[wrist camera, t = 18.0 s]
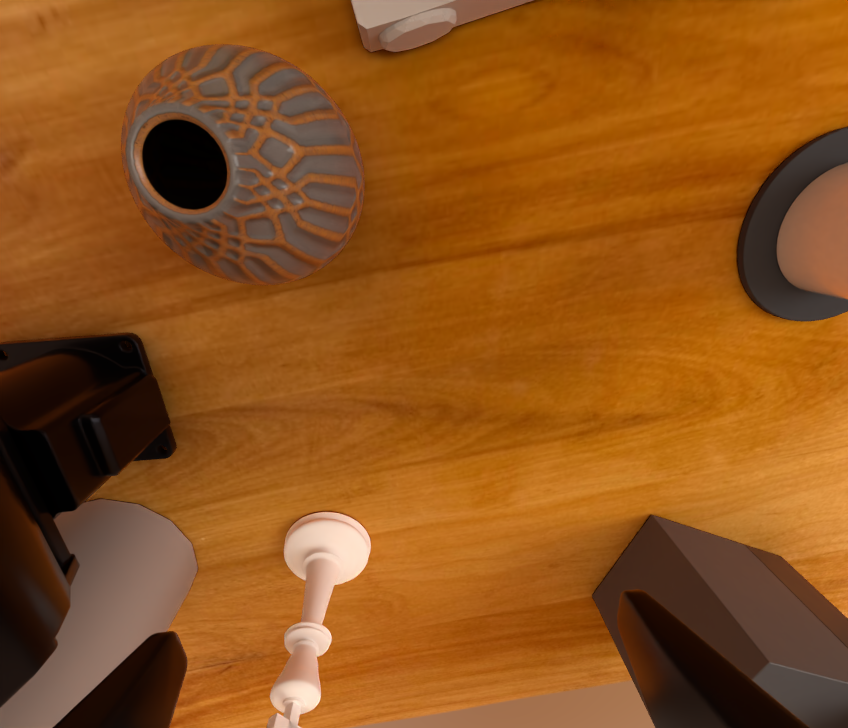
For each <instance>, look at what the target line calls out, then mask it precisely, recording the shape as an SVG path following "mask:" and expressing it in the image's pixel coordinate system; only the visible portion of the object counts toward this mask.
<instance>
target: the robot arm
mask: <svg viewBox="0 0 848 728" xmlns="http://www.w3.org/2000/svg"><path fill="white" fill-rule="evenodd" d="M125 341H128V342H129V343H130V344H131V345H132V348H129V347H128V346H127V345H126V343H125ZM3 351H4V352H6V354H7V355H8V357H7V356H6V355H5V354H4V352H3ZM162 446H164V447H166V448H167V450H165V449H163V448H162ZM176 448H177V447H176V442H175V439H174V436H173V433H172V430H171V427H170V420H169V417H168V414H167V411H166V408H165V404H164V401H163V398H162V395H161V392H160V389H159V386H158V383H157V380H156V378H155V377H154V376H153V373H152V370H151V367H150V364H149V361H148V358H147V355H146V352H145V349H144V346H143V343H142V341H141V339H140V338H139V337H138V336H137V335H135V334H133V333H118V334H104V335H91V336H78V337H65V338H52V339H38V340H25V341H12V342H3V343H0V708H1V707H2V706H3V705H4V704H5V703H6V702H7V701H8V700H9V699H11V698H12V697H13V696H14V695H15V694H16V693H17V692H18V691H19V690H20V689H21V688H22V687H23V686H24V685H25V684H26V683H27V682H28V681H29V680H31V679H32V678H33V677H34V676H35V674H36V673H37V672H38V671H39V670H40V668H41V667H42V666H43V665H44V663H45V662H46V661H47V660H48V659H49V657H50V656H51V655H52V654H53V652H54V651H55V650H56V648H57V646H58V641H57V639H56V635H57V634H58V632H59V630H60V628H61V626H62V624H63V622H64V620H65V617H66V615H67V613H68V611H69V609H70V607H71V588H70V587H71V585H72V582H73V580H74V578H75V576H76V573H77V571H78V569H79V567H80V564H79V562H78V560H77V558H76V556H75V555H74V554H70V552H69V550H68V548H67V546H66V544H65V542H64V540H63V538H62V536H61V534H60V532H59V530H58V528H57V526H56V524H55V522H54V519H56V518H57V517H58V516H59V515H60V514H61V513H62V512H70V511H74V510H76V509H77V508H78V507H79V506H81V505H82V504H83V503H84V502H85V501H86V500H87V499H88V498H89V497H90V496H91V495H92V494H93V493H94V492H95V491H96V490H98V489H99V488H100V487H101V486H102V485H103V484H104V483H105V482H106V481H107V480H108V479H109V478H110V477H111V476H116V475H118V474H119V473H120V472H121V471H122V470H123V469H124V468H126V467H127V466H128V465H129V464H130V463H131V462H132V461H140V460H152V459H164V458H168V457H170V456H171V455H172V454H173V453H174V452H175V451H176ZM617 624H618V629H619V632H620V635H621V638H622V640H623V643H624V646H625V649H626V651H627V654H628V657H629V659H630V662H631V665H632V668H633V670H634V673H635V676H636V678H637V681H638V684H639V687H640V689H641V692H642V695H643V697H644V700H645V703H646V706H647V708H648V711H649V713H650V716H651V718H652V721H653V723H654V725H655V727H656V728H810V727H808V726H807V725H806V724H805V723H803V722H802V721H801V720H800V719H799V718H797V717H796V716H795V715H794V714H793V713H791V712H790V711H789V710H788V709H787V708H785V707H784V706H783V705H782V704H781V703H779V702H778V701H777V700H776V699H775V698H773V697H772V696H771V695H770V694H769V693H767V692H766V691H765V690H764V689H762V688H761V687H760V686H759V685H758V684H756V683H755V682H754V681H753V680H752V679H750V678H749V677H748V676H747V675H746V674H744V673H743V672H742V671H741V670H740V669H738V668H737V667H736V666H735V665H734V664H732V663H731V662H730V661H729V660H727V659H726V658H725V657H724V656H723V655H721V654H720V653H719V652H718V651H717V650H715V649H714V648H713V647H712V646H711V645H709V644H708V643H707V642H706V641H705V640H703V639H702V638H701V637H700V636H699V635H697V634H696V633H695V632H694V631H693V630H691V629H690V628H689V627H688V626H686V625H685V624H684V623H683V622H682V621H680V620H679V619H678V618H677V617H676V616H674V615H673V614H672V613H671V612H670V611H668V610H667V609H666V608H665V607H664V606H662V605H661V604H660V603H659V602H658V601H656V600H655V599H654V598H653V597H651V596H650V595H649V594H648V593H647V592H645V591H643V590H640V589H636V590H625V591H623V592H622V593H621V595H620V601H619V608H618V615H617ZM186 669H187V657H186V654H185V652H184V649H183V647H182V644H181V642H180V639H179V637H178V635H177V633H175V632H174V631H169V632H158V633H154V634H152V635H151V636H149V637H148V638H147V639H146V640H145V641H144V642H143V643H142V644H140V645H139V646H138V647H137V648H136V649H135V650H134V651H133V652H132V653H131V654H130V655H129V656H128V657H127V658H126V659H125V660H124V661H122V662H121V663H120V664H119V665H118V666H117V667H116V668H115V669H114V670H113V671H112V672H111V673H110V674H109V675H108V676H107V677H106V678H104V679H103V680H102V681H101V682H100V683H99V684H98V685H97V686H96V687H95V688H94V689H93V690H92V691H91V692H90V693H89V694H88V695H86V696H85V697H84V698H83V699H82V700H81V701H80V702H79V703H78V704H77V705H76V706H75V707H74V708H73V709H72V710H71V711H70V712H69V713H67V714H66V715H65V716H64V717H63V718H62V719H61V720H60V721H59V722H58V723H57V724H56V725H55V726H54V727H53V728H169V727H170V723H171V720H172V717H173V713H174V710H175V707H176V703H177V700H178V697H179V693H180V690H181V687H182V683H183V680H184V677H185V673H186Z"/></svg>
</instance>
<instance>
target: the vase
mask: <svg viewBox="0 0 848 728" xmlns="http://www.w3.org/2000/svg"><path fill="white" fill-rule="evenodd" d="M121 152H122V162H123V167H124V172H125V176H126V180H127V183H128V186H129V189H130V191H131V194H132V196H133V198H134V201H135V203H136V205H137V207H138V208H139V210H140V212H141V214H142V215H143V217H144V218H145V220H146V221H147V223H148V224H149V225H150V227H151V228H152V229H153V231H154V232H155V233H156V234H157V235H158V236H159V238H160V239H161V240H162V241H163V242H164V243H165V244H166V245H168V246H169V247H170V248H171V249H172V250H173V251H174V252H176V253H177V254H178V255H180V256H181V257H182V258H184V259H185V260H187V261H188V262H189V263H191V264H193V265H195V266H196V267H198V268H200V269H202V270H204V271H206V272H208V273H210V274H213V275H215V276H218V277H221V278H224V279H227V280H231V281H235V282H239V283H246V284H254V285H275V284H283V283H288V282H292V281H296V280H299V279H302V278H304V277H307V276H309V275H311V274H313V273H314V272H316V271H318V270H320V269H321V268H323V267H324V266H325V265H327V264H328V263H329V262H330V261H332V260H333V259H334V258H335V257H336V256H337V255H338V254H339V253H340V251H341V250H342V249H343V248H344V247H345V245H346V244H347V243H348V241H349V240H350V238H351V236H352V234H353V232H354V230H355V228H356V226H357V223H358V221H359V218H360V215H361V211H362V206H363V200H364V170H363V163H362V158H361V154H360V151H359V147H358V144H357V142H356V139H355V136H354V134H353V132H352V130H351V128H350V126H349V124H348V122H347V120H346V118H345V117H344V115H343V113H342V112H341V110H340V109H339V107H338V106H337V105H336V103H335V102H334V101H333V99H332V98H331V97H330V96H329V95H328V94H327V92H326V91H325V90H324V89H323V88H322V87H321V86H320V85H319V84H318V83H317V82H316V81H314V80H313V79H312V78H311V77H310V76H309V75H307V74H306V73H305V72H303V71H302V70H300V69H299V68H297V67H296V66H294V65H293V64H291V63H289V62H287V61H285V60H283V59H281V58H280V57H277V56H275V55H273V54H270V53H267V52H265V51H262V50H258V49H254V48H250V47H245V46H239V45H225V44H221V45H206V46H200V47H196V48H191V49H188V50H185V51H182V52H180V53H177V54H175V55H173V56H171V57H169V58H168V59H166V60H165V61H163V62H162V63H160V64H159V65H157V66H156V67H155V68H154V69H153V70H152V71H150V72H149V73H148V74H147V76H146V77H145V78H144V79H143V80H142V81H141V83H140V84H139V85H138V87H137V89H136V90H135V92H134V94H133V96H132V98H131V100H130V102H129V105H128V107H127V110H126V114H125V117H124V122H123V127H122V136H121Z"/></svg>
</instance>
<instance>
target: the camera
mask: <svg viewBox="0 0 848 728" xmlns="http://www.w3.org/2000/svg"><path fill="white" fill-rule="evenodd" d="M530 1H533V0H351V3H352V7H353V10H354V14H355V17H356V21H357V25H358V28H359V32H360V35H361V39H362V42H363V46H364V48H365V49H367V50H369V51H370V52H373V51H377V50H381V49H385V50H388V51H392V52H398V51H403V50H409V49H413V48H416V47H419V46H422V45H424V44H427V43H430V42H432V41H434V40H436V39H438V38H440V37H441V36H443V35H445V34H447V33H448V32H450V30H451V29H452V28H453V27H455V26H458V25H461V24H464V23H467V22H470V21H473V20H476V19H479V18H482V17H485V16H488V15H491V14H494V13H497V12H500V11H503V10H506V9H509V8H512V7H515V6H518V5H521V4H524V3H527V2H530Z"/></svg>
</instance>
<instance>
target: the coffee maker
mask: <svg viewBox="0 0 848 728" xmlns="http://www.w3.org/2000/svg"><path fill="white" fill-rule="evenodd" d="M636 589H640V590H643V591H645V592H647V593H648V594H649V595H650V596H651V597H653V598H654V599H655V600H656V601H658V602H659V603H660V604H661V605H662V606H664V607H665V608H666V609H667V610H668V611H670V612H671V613H672V614H673V615H674V616H676V617H677V618H678V619H679V620H680V621H682V622H683V623H684V624H685V625H686V626H688V627H689V628H690V629H691V630H693V631H694V632H695V633H696V634H697V635H699V636H700V637H701V638H702V639H703V640H705V641H706V642H707V643H708V644H709V645H711V646H712V647H713V648H714V649H715V650H717V651H718V652H719V653H720V654H721V655H723V656H724V657H725V658H726V659H727V660H729V661H730V662H731V663H732V664H734V665H735V666H736V667H737V668H738V669H740V670H741V671H742V672H743V673H744V674H746V675H747V676H748V677H749V678H750V679H752V680H753V681H754V682H755V683H756V684H758V685H759V686H760V687H761V688H762V689H764V690H765V691H766V692H767V693H769V694H770V695H771V696H772V697H773V698H775V699H776V700H777V701H778V702H779V703H781V704H782V705H783V706H784V707H785V708H787V709H788V710H789V711H790V712H791V713H793V714H794V715H795V716H796V717H797V718H799V719H800V720H801V721H802V722H803V723H805V724H806V725H807V726H808V727H810V728H848V618H846V617H845V616H844V615H843V614H842V613H841V612H840V611H839V610H838V609H837V608H836V607H835V606H834V605H833V604H831V603H830V602H829V601H828V600H827V599H826V598H825V597H824V596H823V595H822V594H821V593H820V592H819V591H818V590H816V589H815V588H814V587H813V586H812V585H811V584H810V583H809V582H808V581H807V580H806V579H805V578H804V577H803V576H802V575H800V574H799V573H798V572H797V571H796V570H795V569H794V568H793V567H792V566H791V565H790V564H789V563H788V562H787V561H785V560H784V559H783V558H782V557H781V556H778V555H775V554H771V553H768V552H765V551H762V550H759V549H756V548H753V547H750V546H747V545H744V544H741V543H737V542H734V541H731V540H728V539H725V538H722V537H719V536H716V535H713V534H710V533H707V532H704V531H700V530H697V529H694V528H691V527H688V526H685V525H682V524H679V523H676V522H673V521H670V520H667V519H663V518H660V517H657V516H654V515H651V516H650V517H649V519H648V520H647V521H646V523H645V524H644V526H643V527H642V528H641V530H640V531H639V532H638V534H637V535H636V536H635V538H634V539H633V541H632V542H631V543H630V545H629V546H628V547H627V549H626V550H625V551H624V553H623V554H622V556H621V557H620V558H619V560H618V561H617V562H616V564H615V565H614V566H613V568H612V569H611V571H610V572H609V573H608V575H607V576H606V577H605V579H604V580H603V582H602V583H601V584H600V586H599V587H598V588H597V590H596V591H595V592H594V594H593V595H592V597H593V599H594V601H595V603H596V605H597V607H598V609H599V611H600V613H601V616H602V618H603V620H604V622H605V624H606V626H607V628H608V630H609V632H610V634H611V636H612V638H613V640H614V643H615V645H616V647H617V649H618V651H619V653H620V655H621V657H622V659H623V661H624V663H625V665H626V667H627V669H628V672H629V674H630V676H631V678H632V680H633V682H634V684H635V686H636V688H637V690H638V692H639V694H640V696H641V699H642V701H643V702H644V705H645V707H646V709H647V711H648V708H647V706H646V703H645V700H644V697H643V695H642V692H641V689H640V687H639V684H638V681H637V678H636V676H635V673H634V670H633V668H632V665H631V662H630V659H629V657H628V654H627V651H626V649H625V646H624V643H623V640H622V638H621V635H620V632H619V629H618V624H617V615H618V608H619V601H620V595H621V593H622V592H623V591H625V590H636ZM648 713H649V711H648ZM649 715H650V713H649ZM650 717H651V716H650ZM651 719H652V718H651ZM654 726H655V725H654ZM655 728H656V727H655Z"/></svg>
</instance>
